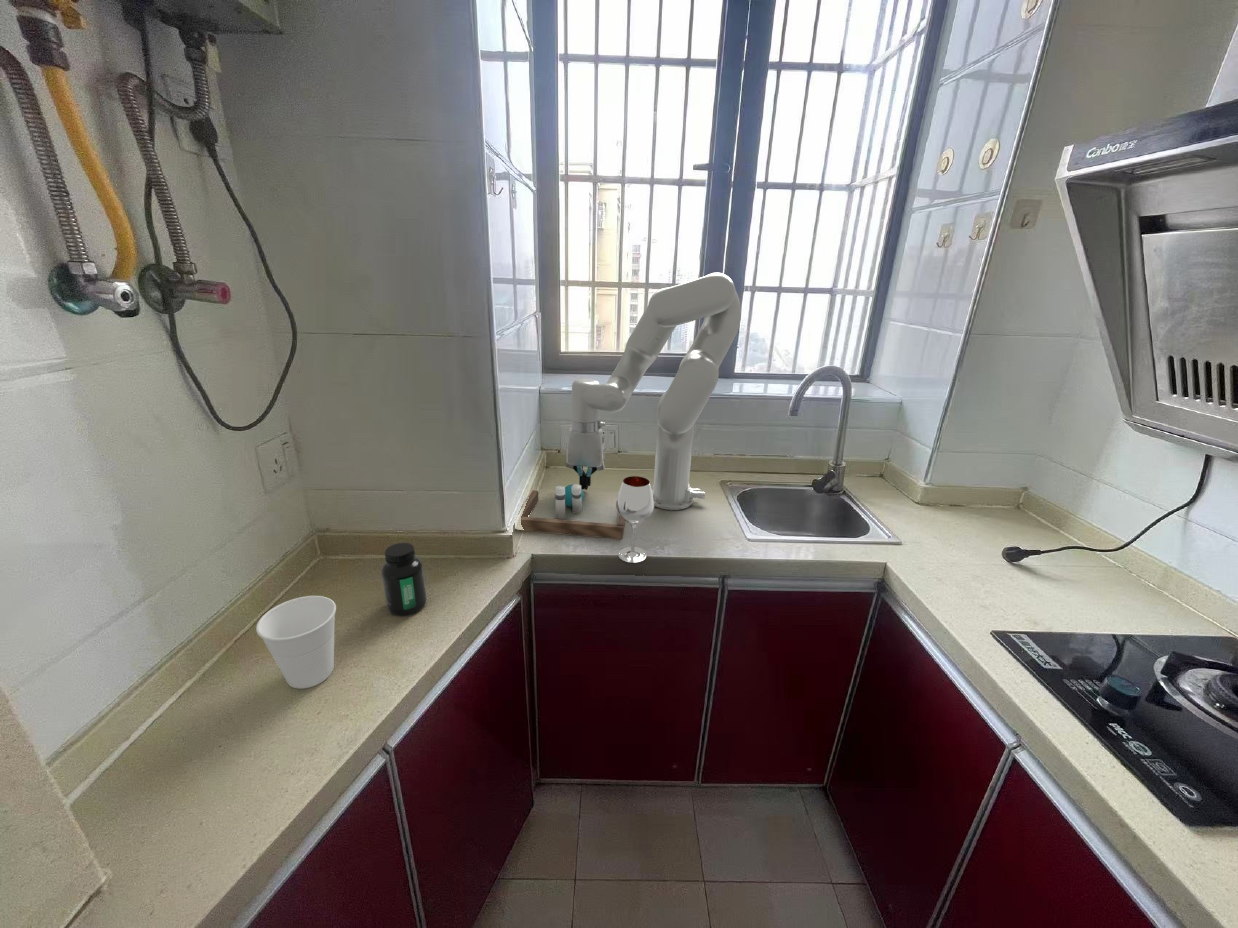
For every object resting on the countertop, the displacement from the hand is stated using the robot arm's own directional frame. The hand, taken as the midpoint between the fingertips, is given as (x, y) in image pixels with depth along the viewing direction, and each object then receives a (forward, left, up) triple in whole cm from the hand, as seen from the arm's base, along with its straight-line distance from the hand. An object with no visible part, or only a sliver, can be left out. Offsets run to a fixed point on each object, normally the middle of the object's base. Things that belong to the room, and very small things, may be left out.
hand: (585, 487), depth 141 cm
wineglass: (-16, +31, -2) cm, 35 cm away
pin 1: (+4, +16, -2) cm, 17 cm away
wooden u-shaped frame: (0, +15, -2) cm, 15 cm away
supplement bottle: (+24, +55, -2) cm, 60 cm away
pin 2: (0, +12, -1) cm, 12 cm away
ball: (+2, +9, +2) cm, 9 cm away
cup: (+30, +73, -2) cm, 79 cm away
